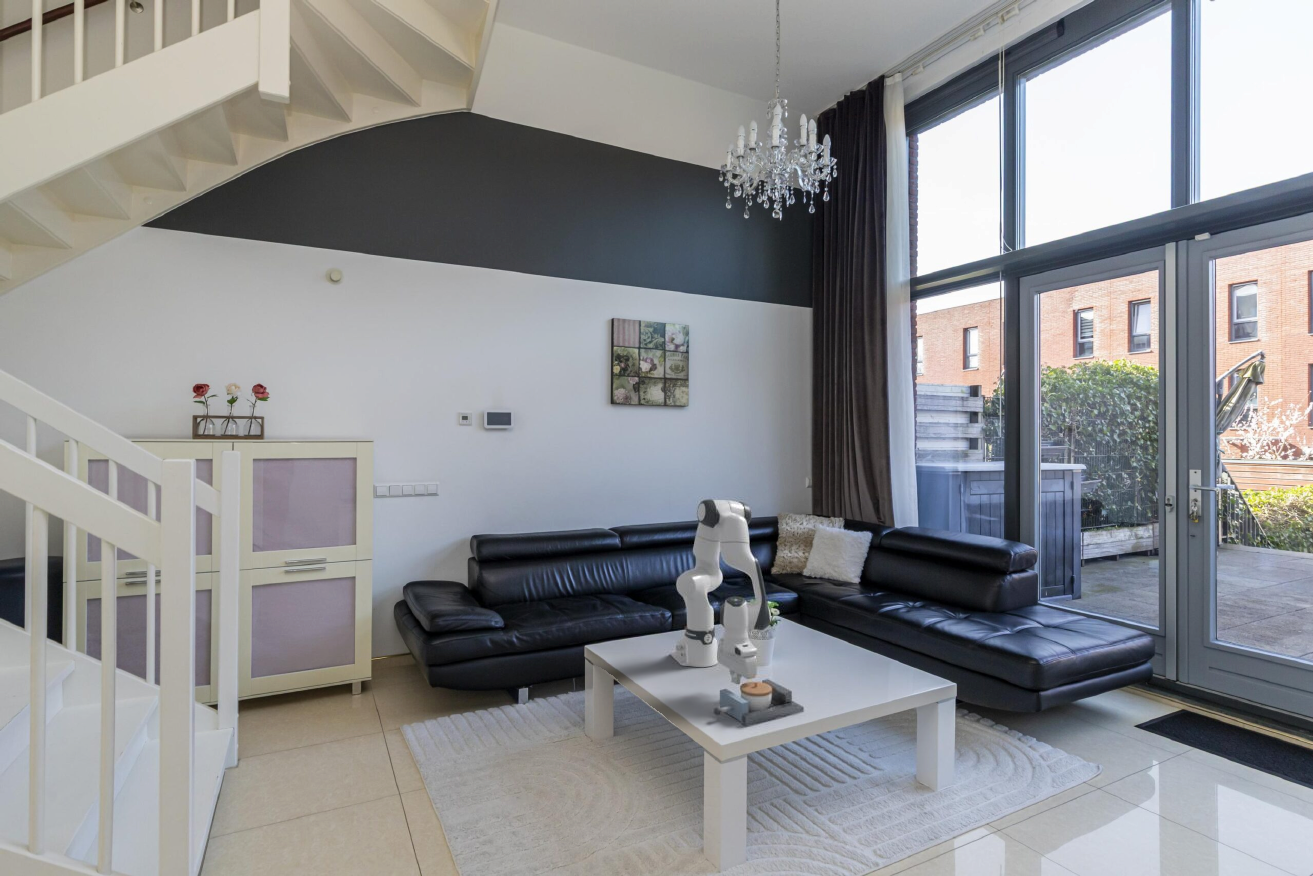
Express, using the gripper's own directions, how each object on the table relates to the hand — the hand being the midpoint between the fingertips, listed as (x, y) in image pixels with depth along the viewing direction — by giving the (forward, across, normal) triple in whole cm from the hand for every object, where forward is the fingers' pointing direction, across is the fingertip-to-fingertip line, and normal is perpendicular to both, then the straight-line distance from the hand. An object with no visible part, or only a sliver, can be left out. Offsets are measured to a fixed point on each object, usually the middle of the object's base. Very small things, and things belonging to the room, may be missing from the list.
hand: (735, 683), depth 234 cm
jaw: (+5, +12, -12) cm, 18 cm away
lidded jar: (+6, +12, 0) cm, 13 cm away
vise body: (+5, +13, +2) cm, 14 cm away
